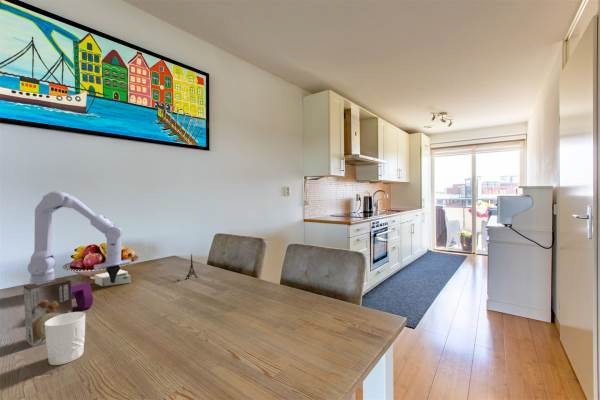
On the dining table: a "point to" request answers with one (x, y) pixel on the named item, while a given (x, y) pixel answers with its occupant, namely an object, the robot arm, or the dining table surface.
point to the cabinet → (105, 275)
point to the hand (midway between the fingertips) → (113, 282)
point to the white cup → (65, 337)
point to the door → (116, 280)
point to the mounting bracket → (82, 295)
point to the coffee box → (45, 306)
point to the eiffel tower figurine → (192, 269)
